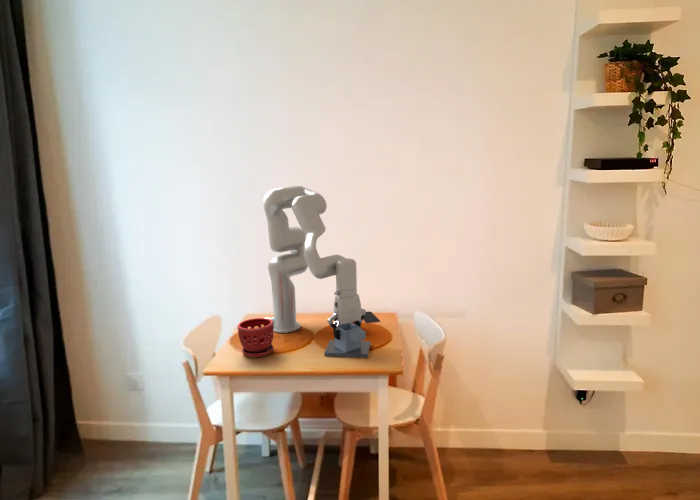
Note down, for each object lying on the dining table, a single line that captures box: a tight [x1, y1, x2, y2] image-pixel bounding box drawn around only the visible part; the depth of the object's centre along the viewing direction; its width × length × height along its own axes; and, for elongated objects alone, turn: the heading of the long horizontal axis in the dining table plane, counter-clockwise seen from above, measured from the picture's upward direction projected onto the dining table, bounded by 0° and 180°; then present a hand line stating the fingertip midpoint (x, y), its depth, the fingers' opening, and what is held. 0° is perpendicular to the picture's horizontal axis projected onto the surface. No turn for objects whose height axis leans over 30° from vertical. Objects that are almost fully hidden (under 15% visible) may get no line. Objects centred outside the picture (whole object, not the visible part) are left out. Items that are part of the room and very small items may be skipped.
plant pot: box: [237, 317, 274, 358], centre depth 192 cm, size 13×13×12 cm
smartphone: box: [362, 311, 381, 324], centre depth 229 cm, size 7×1×14 cm
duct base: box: [323, 339, 372, 359], centre depth 193 cm, size 16×12×6 cm
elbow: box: [333, 323, 367, 352], centre depth 191 cm, size 7×12×8 cm, turn 37°
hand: (347, 335), depth 192 cm, fingers open, 9 cm apart
